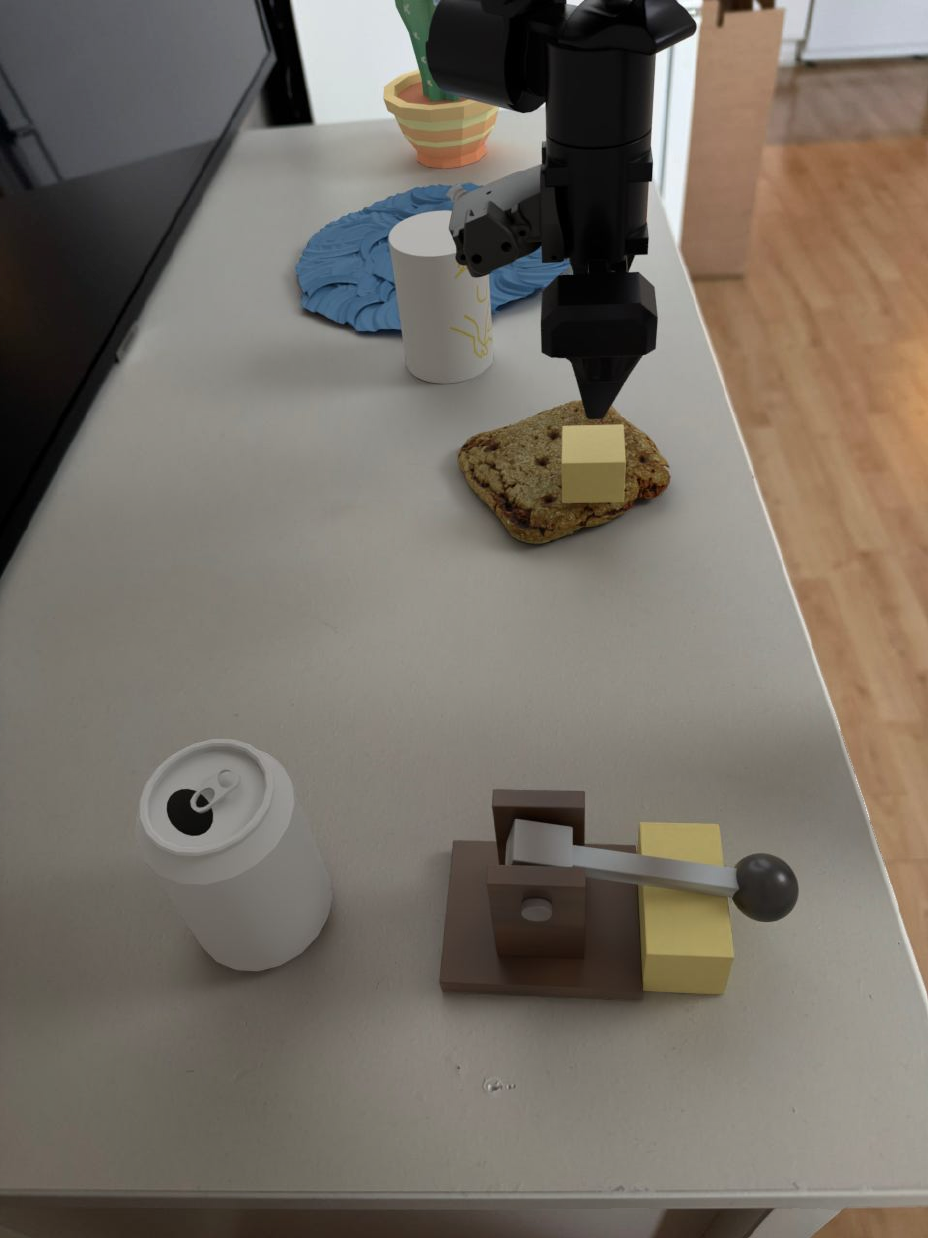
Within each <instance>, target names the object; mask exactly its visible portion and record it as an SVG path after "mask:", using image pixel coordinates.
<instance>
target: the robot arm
mask: <svg viewBox="0 0 928 1238" xmlns="http://www.w3.org/2000/svg"><path fill="white" fill-rule="evenodd" d="M697 29H698V24H697V22H696V20H695V19H694V17H693V16H692V15H691V14H690V12H689V11H688V10H687V8H686V7H685V6H683V5H682V4H680V3H679V1H678V0H583V1H581V2H580V3H579V4H578V5H575V4H570V3H567V0H440V1H439V2H438V5H437V7H436V9H435V11H434V14H433V17H432V20H431V24H430V28H429V36H428V40H427V41H426V44H425V49H426V59H427V64H428V69H429V71H430V74H431V76H432V78H433V80H434V82H435V83H436V84H437V86H438V87H439V88H440V89H441V90H443V91H444V92H445V93H448V94H451V95H455V96H459V97H462V98H466V99H470V100H474V101H478V102H482V103H485V104H489V105H493V106H497V107H499V108H501V109H504V110H509V111H512V112H517V113H521V114H528V113H533V112H535V111H537V110H538V109H539V108H540V107H542V106H543V105H544V104H545V105H544V106H545V107H544V108H545V109H544V110H545V140H544V141H541V164H538V165H535V166H533V167H530V168H527V169H525V170H519V171H515V172H512V173H510V174H507V175H505V176H503V177H500V178H498V179H496V180H493V181H492V182H489V183H487V184H485V185H484V186H482V187H480V188H478V189H475V190H473V191H471V192H468V193H466V194H465V195H463V196H461V197H460V198H459V199H458V200H456V202H455V203H454V205H453V208H452V213H451V218H450V223H449V231H450V233H451V235H452V238H453V241H454V243H455V245H456V256H455V259H456V261H457V263H458V264H460V265H463V266H465V265H466V267H467V269H468V271H469V273H470V275H471V276H472V277H475V278H478V277H483V276H486V275H488V274H490V273H491V272H492V271H493V270H496V269H498V268H501V267H503V266H506V265H508V264H511V263H513V262H515V261H516V260H517V259H520V258H522V257H525V256H527V255H529V254H531V253H533V252H535V251H536V250H538V249H539V248H540V247H541V248H542V263H556V262H563V261H564V259H566V260H567V262H569V263H570V264H571V265H570V267H571V270H572V274H559V275H558V276H557V277H556V278H555V279H554V280H553V281H552V282H551V283H550V284H549V285H548V286H547V287H544V289H543V290H542V291H541V306H540V348H541V349H540V350H541V354H543V355H546V356H547V357H548V358H551V359H565V360H567V361H569V363H570V364H571V367H572V371H573V374H574V377H575V381H576V385H577V388H578V392H579V395H580V400H582V403H583V407H584V411H585V414H586V417H587V418H588V419H603V418H604V417H605V415H606V414H607V412H608V410H609V409H610V407H611V405H612V406H613V404H614V403H615V401H616V399H617V397H618V395H619V394H620V393H621V391H622V389H623V387H624V385H625V383H626V382H627V381H628V378H629V377H630V376H631V374H632V372H633V371H634V370H635V368H636V367H637V365H638V364H639V362H640V361H641V359H642V358H643V356H646V355H648V354H650V353H651V352H653V351H655V350H657V339H658V324H659V323H658V322H659V315H658V314H659V313H658V307H657V306H658V305H657V297H656V288H655V287H656V286H655V285H653V283H651V282H650V281H649V280H648V279H647V278H646V277H645V276H644V275H642V273H641V272H639V271H630V269H631V267H632V265H633V262H634V260H635V257H636V256H648V255H649V244H650V243H649V242H650V241H649V240H650V236H649V235H650V234H649V226H648V225H649V224H648V206H649V205H648V204H649V189H650V188H649V186H650V183H652V182H653V173H654V159H653V158H654V157H653V150H652V133H653V116H654V114H653V113H654V98H655V81H656V78H655V76H656V62H657V61H656V60H657V54H659V53H661V52H662V51H664V50H667V49H669V48H670V47H673V46H674V45H676V44H679V43H681V42H683V41H685V40H688V39H689V38H691V37H692V36H694V35H695V34H696V32H697Z"/></svg>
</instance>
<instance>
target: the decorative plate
mask: <svg viewBox="0 0 928 1238" xmlns="http://www.w3.org/2000/svg"><path fill="white" fill-rule="evenodd" d="M482 186H485V185H483V184H482V185H478V184H475V183H473V182H467V183H462V184H459V183H456V184H454V185H451V184H450V185H447V184H446V185H444V184H437V185H433V184H430V185H427V186H425V185H423V186H421V187H420V186H415V187H413V188H411V189H409V190H407V191H404V192H400V193H399V192H397V193H396V194H395V195H389V196H388V197H386V198H385V199H382V200H379V201H376V202H374V203H372V204H371V205H370V206H364V207H363V208H362V209H360V210H358V211H354V212H348V213H347V214H346V215H342V216H340V217H339V218H338V219H337V220H334V221H330V222H329V223H327V224H325V226H323V227H322V228H320V230H319V231H318V232H316V233H314V234H313V235H312V236H311V237H310V238H309V240H308V241H307V243H306V246H305V247H304V248H303V249H302V253H301V256H300V257H299V259H298V262H297V264H296V265H295V266H294V268H295V270H294V271H295V274H296V275H297V276H298V279H299V280H298V283H299V285H300V287H301V290H302V293H301V302H300V307H302V308H304V309H306V310H308V311H310V312H311V313H319V314H320V315H323V316H324V317H326V318H327V319H330V320H331V321H334V322H335V323H337V324H338V323H339V324H340V325H345V324H346V323H347V324H348V325H349V327H352V328H354V331H356V332H367V331H368V332H378V330H381V329H382V330H391V329H394V330H402V329H401V322H400V315H399V308H398V301H397V294H396V287H395V280H394V272H393V265H392V258H391V251H390V244H389V234H390V231H391V230H392V229H393V227H394V226H396V225H397V224H398V223H400V222H401V221H403V220H405V219H407V218H409V217H412V216H414V215H418V214H421V213H426V212H432V211H452V208H453V205H454V203H455V202H456V200H458V199H459V198H460V197H461V196H463V195H465V194H466V193H468V192H471V191H473V190H475V189H478V188H480V187H482ZM569 267H571V264H570V263H569V262H567V260H566V259H564V261H563V262H556V263H542V248H541V247H540V248H539V249H538V250H536V251H535V252H533V253H531V254H529V255H527V256H525V257H522V258H520V259H517V260H516V261H515V262H513V263H511V264H508V265H506V266H503V267H501V268H498V269H496V270H493V271H492V272H491V273H490V274H489V288H490V305H491V313H493V314H499V313H500V311H499V310H497V308H498V307H499V306H500V305H504V304H507V303H508V302H510V301H511V302H512V301H515V300H518V299H520V298H521V299H522V298H527V296H529V295H532V294H534V292H535V291H537V290H539V289H543V288H544V289H545V288H546V287H547V286H548V285H549V284H550V283H551V282H552V281H553V280H554V279H555V278H556V277H557V276H558V275H561V274H562V273H564V271H565V270H567V268H569Z"/></svg>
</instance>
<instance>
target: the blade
mask: <svg viewBox="0 0 928 1238" xmlns="http://www.w3.org/2000/svg"><path fill="white" fill-rule="evenodd" d="M505 865H522V866H555V867H585V869H586V877H588V878H595V879H602V880H609V881H617V882H624V883H631V884H638V885H645V886H652V887H659V888H666V889H673V890H680V891H687V892H694V893H701V894H708V895H715V896H722V897H727V898H728V899H729V898H730V899H731V900H732V902H733V905H735V907H736V909H738V910H739V912H740V913H741V914H742V915H744V916H745V917H747V918H749V919H750V920H753V921H756V922H760V923H773V922H777V921H781V920H782V919H784V918H786V917H787V916H789V914H791V912H792V911H793V909H795V907H796V905H797V902H798V900H799V892H800V888H799V882H798V879H797V876H796V873H795V872H794V870H793V869H792V868H791V866H790V865H789V864H788V863H787V862H786V861H784V860H783V859H782V858H780V857H779V856H776V855H773V854H771V853H767V852H758V853H752V854H748V855H747V856H744V857H742V858H741V859H740V860H739V861H737V863H736V864H735V865H734V867H729V866H724V867H723V866H716V865H709V864H702V863H695V862H688V861H681V860H674V859H667V858H660V857H653V856H646V855H639V854H637V853H636V854H632V853H625V852H618V851H611V850H604V849H598V848H591V847H584V846H577V845H573V828H572V827H569V826H562V825H555V824H548V823H541V822H535V821H528V820H521V819H515V820H514V823H513V826H512V829H511V832H510V834H509V837H508V840H507V843H506V858H505Z"/></svg>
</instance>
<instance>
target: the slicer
mask: <svg viewBox="0 0 928 1238" xmlns="http://www.w3.org/2000/svg"><path fill="white" fill-rule="evenodd" d="M491 798H492V799H491V811H492V818H493V819H492V820H493V827H494V835H495V840H470V839H469V840H467V839H466V840H465V839H453V841H452V848H451V856H450V857H451V858H450V868H449V878H448V889H447V898H446V909H445V918H444V928H443V929H444V931H443V940H442V941H443V942H442V949H441V960H440V971H439V980H438V982H439V986H440V990H441V992H442V993H463V994H484V995H502V996H503V995H505V996H523V997H524V996H529V997H549V998H568V999H569V998H570V999H592V1000H610V1001H611V1000H612V1001H613V1000H614V1001H634V1002H640V1001H641V1002H642V1001H643V995H644V991H643V981H642V960H641V939H640V917H639V896H638V884H631V883H624V882H617V881H609V880H602V879H595V878H588V877H586V869H585V867H555V866H522V865H505V858H506V843H507V840H508V837H509V834H510V832H511V829H512V826H513V823H514V820H515V819H521V820H528V821H535V822H541V823H548V824H555V825H562V826H569V827H572V828H573V845H577V846H584V847H591V848H598V849H604V850H611V851H618V852H625V853H632V854H637V846H636V844H615V843H614V844H612V843H611V844H609V843H585V841H586V791H584V790H559V789H557V790H555V789H551V790H550V789H516V788H515V789H513V788H508V789H507V788H493V789H492V797H491Z"/></svg>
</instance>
